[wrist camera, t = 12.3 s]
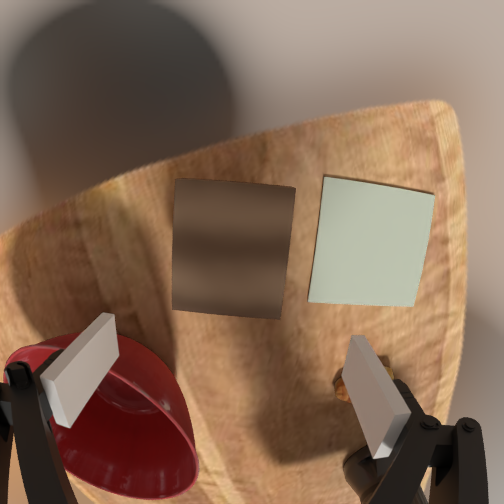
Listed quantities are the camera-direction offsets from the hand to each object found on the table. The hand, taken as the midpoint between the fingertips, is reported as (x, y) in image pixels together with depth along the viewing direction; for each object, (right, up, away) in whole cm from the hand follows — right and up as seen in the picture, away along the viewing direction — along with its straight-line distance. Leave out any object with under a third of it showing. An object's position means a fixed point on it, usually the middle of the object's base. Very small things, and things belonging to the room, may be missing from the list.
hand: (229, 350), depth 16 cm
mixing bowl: (-19, -14, +28) cm, 37 cm away
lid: (-1, +6, +16) cm, 17 cm away
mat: (+17, +6, +22) cm, 29 cm away
